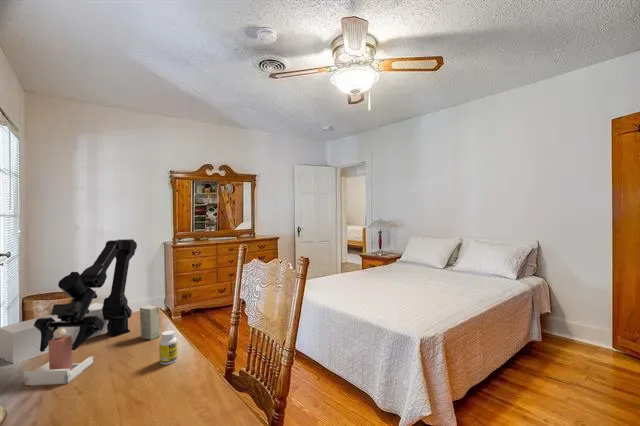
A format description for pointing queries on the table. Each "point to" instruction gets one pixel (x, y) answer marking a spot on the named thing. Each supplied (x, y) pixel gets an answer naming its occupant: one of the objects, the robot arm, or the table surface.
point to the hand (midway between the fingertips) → (57, 350)
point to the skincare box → (150, 322)
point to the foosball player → (60, 350)
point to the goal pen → (56, 374)
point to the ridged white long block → (36, 336)
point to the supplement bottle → (168, 347)
